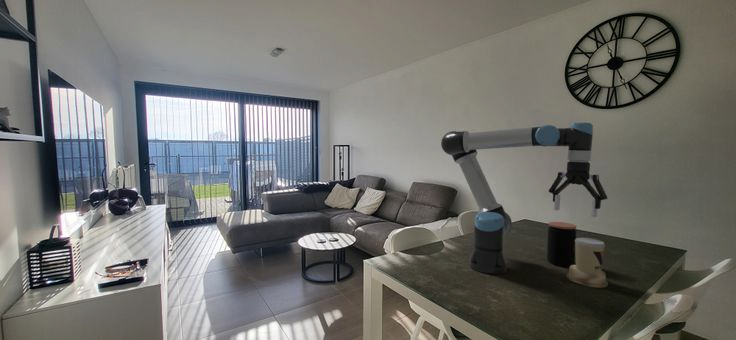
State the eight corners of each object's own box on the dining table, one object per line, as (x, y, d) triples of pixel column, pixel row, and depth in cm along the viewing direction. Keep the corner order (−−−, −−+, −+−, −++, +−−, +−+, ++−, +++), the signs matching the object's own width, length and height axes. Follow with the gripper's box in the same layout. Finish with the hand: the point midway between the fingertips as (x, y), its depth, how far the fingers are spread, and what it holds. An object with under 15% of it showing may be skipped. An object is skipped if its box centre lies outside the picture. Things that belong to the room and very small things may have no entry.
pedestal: (569, 283, 112) (569, 272, 112) (564, 271, 124) (565, 262, 124) (612, 290, 106) (612, 280, 106) (603, 277, 118) (603, 267, 117)
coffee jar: (579, 268, 127) (581, 227, 126) (552, 266, 129) (554, 226, 128) (567, 259, 137) (569, 222, 136) (543, 258, 140) (544, 221, 139)
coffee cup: (599, 277, 108) (601, 245, 107) (570, 269, 115) (571, 239, 115) (606, 271, 114) (608, 241, 113) (578, 264, 121) (579, 236, 120)
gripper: (621, 163, 109) (616, 219, 110) (551, 160, 130) (547, 206, 131) (612, 163, 105) (607, 221, 106) (541, 159, 126) (538, 208, 128)
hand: (574, 213), depth 119 cm, fingers open, 13 cm apart
